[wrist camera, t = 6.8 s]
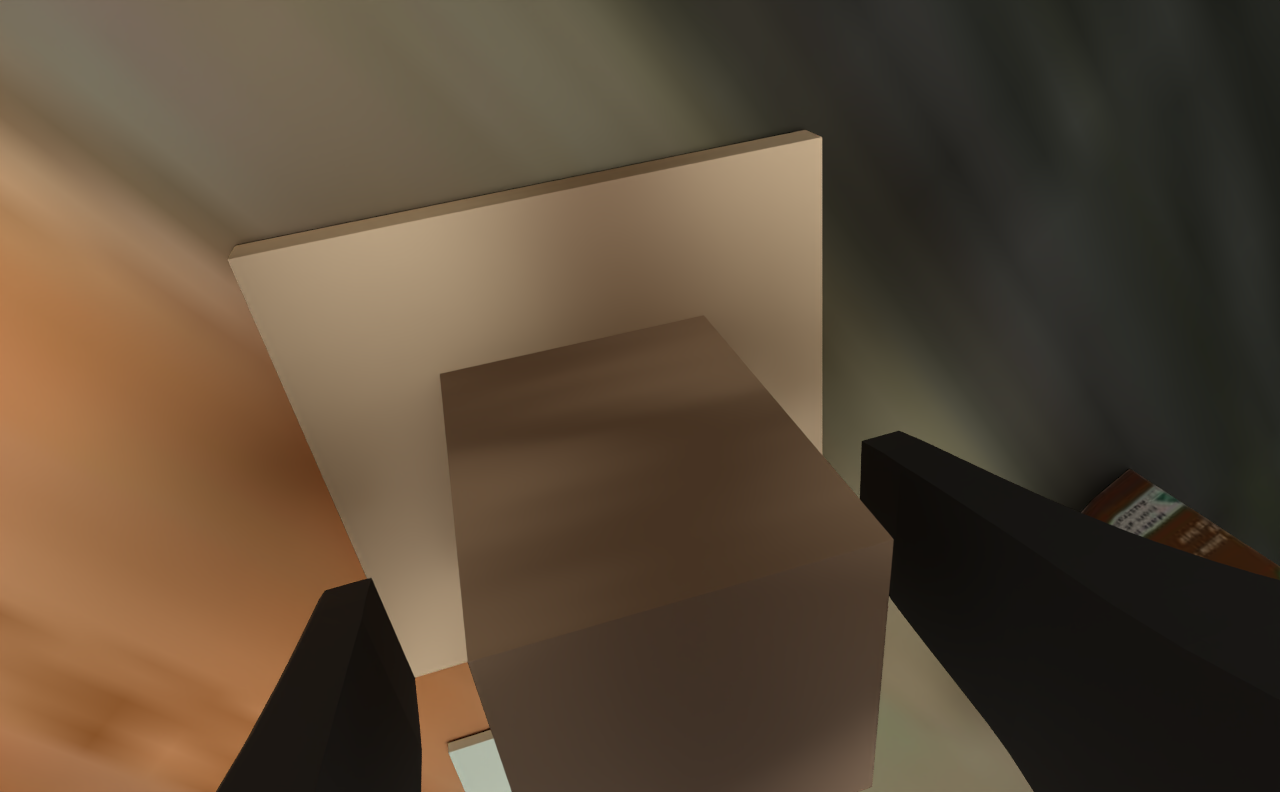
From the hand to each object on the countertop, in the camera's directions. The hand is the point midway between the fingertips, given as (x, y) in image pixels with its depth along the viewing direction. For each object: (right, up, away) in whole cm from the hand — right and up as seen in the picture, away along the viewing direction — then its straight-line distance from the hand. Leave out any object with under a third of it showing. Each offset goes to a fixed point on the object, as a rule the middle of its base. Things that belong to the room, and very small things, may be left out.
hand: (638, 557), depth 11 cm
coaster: (-1, +2, +3) cm, 4 cm away
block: (-1, +1, +3) cm, 3 cm away
